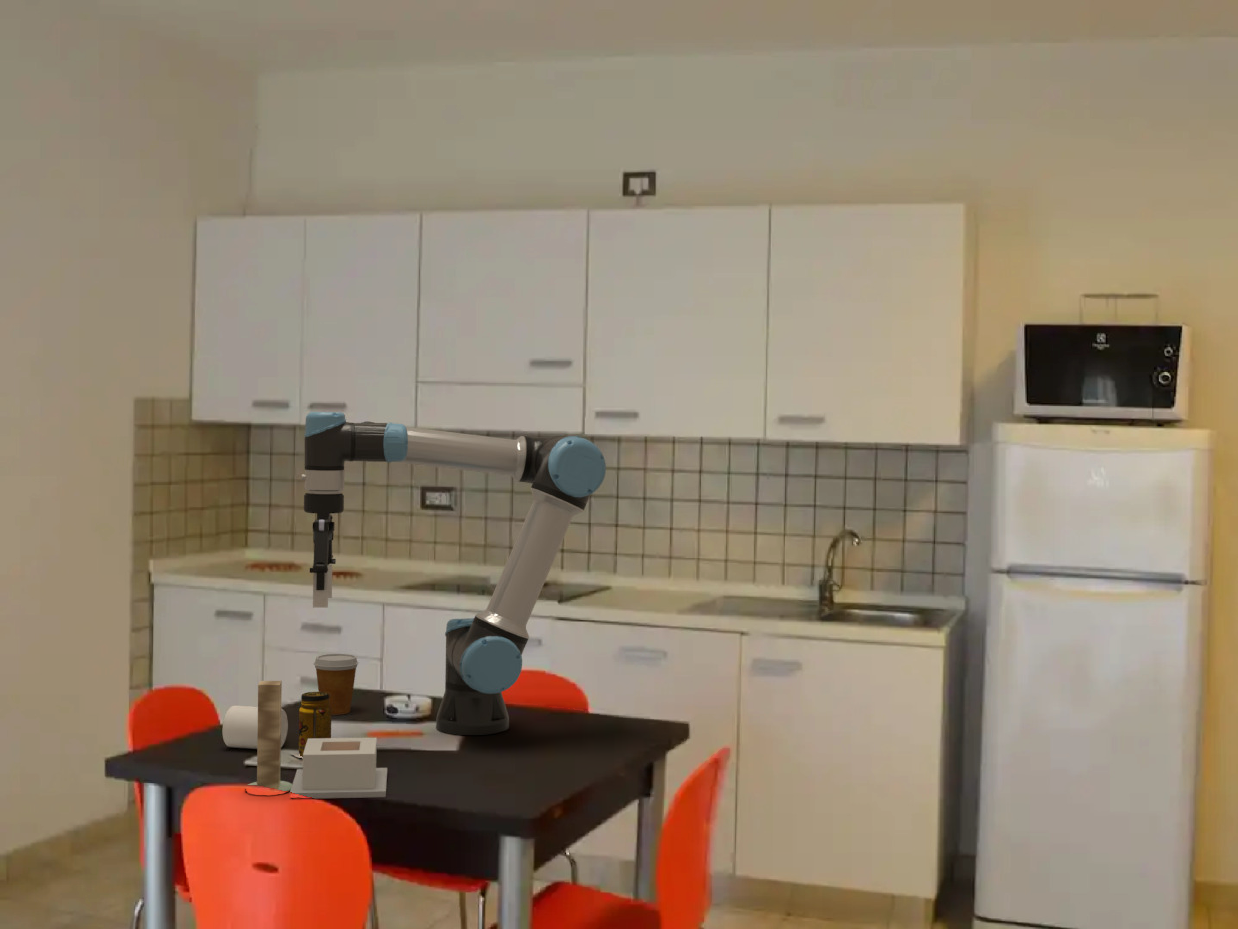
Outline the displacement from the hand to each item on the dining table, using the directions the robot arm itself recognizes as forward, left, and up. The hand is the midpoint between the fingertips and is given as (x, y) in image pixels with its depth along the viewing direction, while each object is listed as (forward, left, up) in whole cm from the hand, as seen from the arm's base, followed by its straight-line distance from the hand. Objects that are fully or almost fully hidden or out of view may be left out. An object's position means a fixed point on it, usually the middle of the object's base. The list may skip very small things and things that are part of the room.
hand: (322, 602), depth 271 cm
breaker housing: (-5, +26, -29) cm, 39 cm away
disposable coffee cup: (-1, -35, -29) cm, 45 cm away
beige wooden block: (+7, +28, -28) cm, 40 cm away
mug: (+12, -5, -29) cm, 32 cm away
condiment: (0, +4, -29) cm, 29 cm away
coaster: (+7, +28, -29) cm, 41 cm away
